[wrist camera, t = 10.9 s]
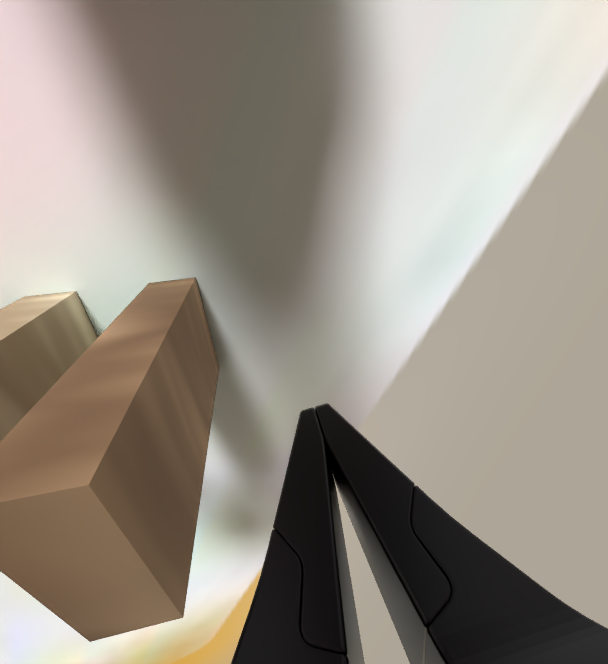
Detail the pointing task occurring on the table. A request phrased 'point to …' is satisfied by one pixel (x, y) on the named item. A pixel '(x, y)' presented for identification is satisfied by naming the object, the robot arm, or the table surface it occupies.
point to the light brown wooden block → (38, 349)
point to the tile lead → (115, 470)
